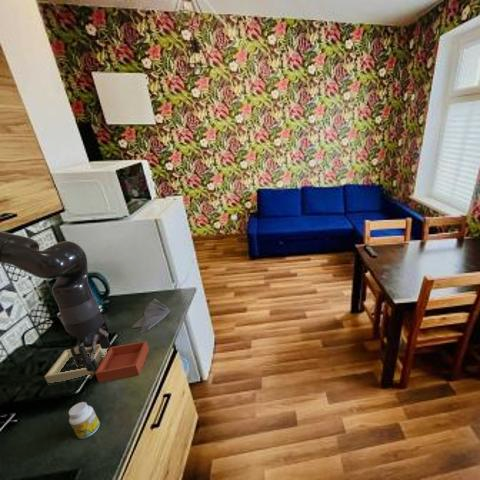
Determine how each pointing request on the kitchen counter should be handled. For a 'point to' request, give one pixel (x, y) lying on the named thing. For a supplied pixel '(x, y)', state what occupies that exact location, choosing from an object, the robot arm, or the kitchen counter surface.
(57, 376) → the cream bin
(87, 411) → the supplement bottle
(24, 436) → the kitchen counter surface
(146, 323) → the cloth
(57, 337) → the kitchen counter surface
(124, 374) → the terracotta bin
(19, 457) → the kitchen counter surface
